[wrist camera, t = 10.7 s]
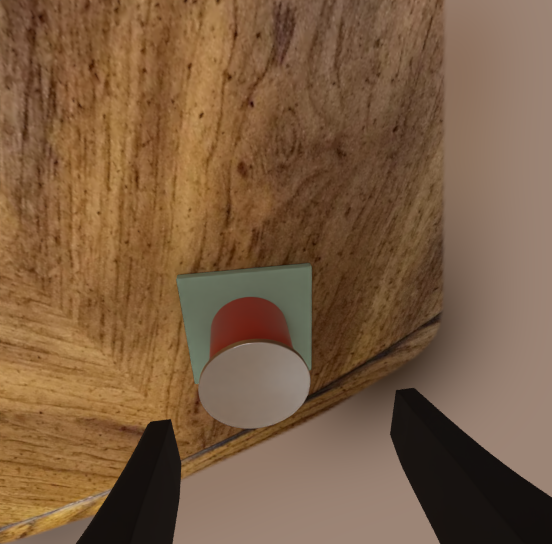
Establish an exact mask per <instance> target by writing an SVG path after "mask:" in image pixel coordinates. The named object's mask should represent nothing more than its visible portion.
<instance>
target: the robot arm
mask: <svg viewBox="0 0 552 544" xmlns="http://www.w3.org/2000/svg"><path fill="white" fill-rule="evenodd" d="M390 435H391V438H392V441H393V444H394V447H395V450H396V452H397V455H398V457H399V460H400V463H401V465H402V468H403V470H404V472H405V474H406V476H407V478H408V480H409V482H410V484H411V486H412V488H413V490H414V492H415V494H416V496H417V498H418V500H419V502H420V504H421V506H422V508H423V510H424V512H425V514H426V516H427V518H428V520H429V522H430V524H431V526H432V528H433V530H434V532H435V534H436V536H437V538H438V540H439V542H440V544H552V497H550V496H549V495H547V494H546V493H544V492H543V491H542V490H540V489H538V488H537V487H536V486H534V485H533V484H531V483H530V482H528V481H527V480H525V479H524V478H523V477H521V476H520V475H518V474H517V473H516V472H514V471H513V470H511V469H510V468H509V467H507V466H506V465H505V464H503V463H502V462H501V461H500V460H498V459H497V458H496V457H494V456H493V455H492V454H490V453H489V452H488V451H487V450H485V449H484V448H483V447H481V446H480V445H479V444H478V443H477V442H476V441H474V440H473V439H472V438H471V437H470V436H468V435H467V434H466V433H465V432H463V431H462V430H461V429H460V428H459V427H458V426H457V425H455V424H454V423H453V422H452V421H451V420H450V419H448V418H447V417H446V416H445V415H444V414H443V413H442V412H441V411H439V410H438V409H437V408H436V407H435V406H434V405H433V404H432V403H430V402H429V401H428V400H427V399H426V398H425V397H424V396H423V395H422V394H420V393H419V392H418V391H417V390H416V389H414V388H409V389H402V390H396V394H395V402H394V409H393V417H392V424H391V432H390ZM180 481H181V460H180V456H179V451H178V447H177V443H176V439H175V435H174V431H173V426H172V422H171V419H168V420H160V421H153V422H150V423H149V424H148V425H147V427H146V429H145V431H144V433H143V435H142V437H141V439H140V441H139V443H138V445H137V447H136V448H135V450H134V452H133V454H132V456H131V458H130V459H129V461H128V463H127V465H126V467H125V468H124V470H123V472H122V473H121V475H120V477H119V478H118V480H117V482H116V483H115V485H114V487H113V488H112V490H111V492H110V493H109V495H108V497H107V498H106V500H105V501H104V503H103V504H102V506H101V507H100V509H99V510H98V512H97V513H96V515H95V517H94V518H93V520H92V521H91V523H90V524H89V526H88V527H87V529H86V530H85V531H84V533H83V534H82V536H81V537H80V539H79V540H78V541H77V543H76V544H172V543H173V537H174V530H175V524H176V517H177V511H178V505H179V496H180Z"/></svg>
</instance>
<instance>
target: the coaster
mask: <svg viewBox="0 0 552 544" xmlns="http://www.w3.org/2000/svg"><path fill="white" fill-rule="evenodd" d="M176 281H177V286H178V292H179V297H180V303H181V309H182V314H183V320H184V325H185V331H186V336H187V342H188V348H189V353H190V359H191V364H192V370H193V376H194V381H195V384H198V383H199V378H200V374H201V372H202V370H203V368H204V366H205V365H206V363H207V362H208V361H209V354H210V335H211V324H212V321H213V319H214V317H215V315H216V313H217V312H218V311H219V310H220V309H221V308H222V307H223V306H224V305H226V304H227V303H229V302H231V301H233V300H235V299H239V298H243V297H258V298H263V299H266V300H268V301H270V302H272V303H273V304H275V305H276V306H277V307H278V308H279V309H280V310H281V311H282V313H283V314H284V317H285V319H286V323H287V327H288V330H289V334H290V338H291V341H292V345H293V349H294V350H295V351H297V352H298V353H299V354H300V355H301V356H302V358H303V359H304V361H305V362H306V364H307V367H308V370H311V337H312V266H311V264H310V263H305V264H294V265H283V266H271V267H260V268H249V269H238V270H227V271H216V272H205V273H194V274H183V275H177V279H176Z"/></svg>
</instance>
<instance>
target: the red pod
mask: <svg viewBox="0 0 552 544" xmlns="http://www.w3.org/2000/svg"><path fill="white" fill-rule="evenodd" d="M309 389H310V374H309V370H308V367H307V364H306V362H305V361H304V359H303V358H302V356H301V355H300V354H299V353H298V352H297V351H295V350H294V349H293V345H292V341H291V338H290V334H289V330H288V327H287V323H286V319H285V317H284V314H283V313H282V311H281V310H280V309H279V308H278V307H277V306H276V305H275V304H273V303H272V302H270V301H268V300H266V299H263V298H258V297H243V298H239V299H235V300H233V301H231V302H229V303H227V304H226V305H224V306H223V307H222V308H221V309H220V310H219V311H218V312H217V313H216V315H215V317H214V319H213V321H212V324H211V335H210V354H209V361H208V362H207V363H206V365H205V366H204V368H203V370H202V372H201V374H200V378H199V387H198V391H199V397H200V401H201V403H202V405H203V407H204V408H205V410H206V411H207V412H208V413H209V414H210V415H211V416H212V417H214V418H215V419H216V420H218V421H220V422H222V423H224V424H226V425H229V426H233V427H238V428H261V427H266V426H270V425H273V424H276V423H278V422H280V421H282V420H284V419H286V418H288V417H289V416H291V415H292V414H293V413H294V412H296V411H297V410H298V409H299V408H300V406H301V405H302V404H303V403H304V401H305V399H306V397H307V395H308V393H309Z"/></svg>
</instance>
